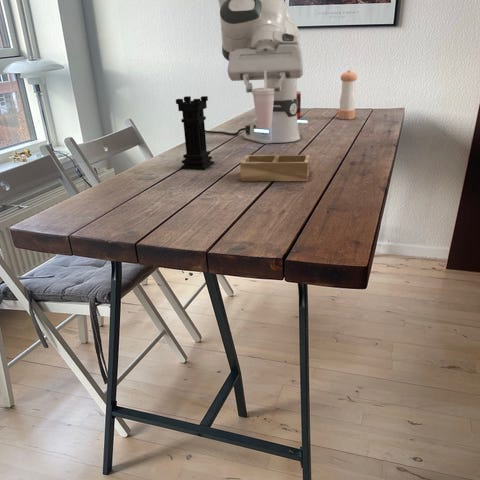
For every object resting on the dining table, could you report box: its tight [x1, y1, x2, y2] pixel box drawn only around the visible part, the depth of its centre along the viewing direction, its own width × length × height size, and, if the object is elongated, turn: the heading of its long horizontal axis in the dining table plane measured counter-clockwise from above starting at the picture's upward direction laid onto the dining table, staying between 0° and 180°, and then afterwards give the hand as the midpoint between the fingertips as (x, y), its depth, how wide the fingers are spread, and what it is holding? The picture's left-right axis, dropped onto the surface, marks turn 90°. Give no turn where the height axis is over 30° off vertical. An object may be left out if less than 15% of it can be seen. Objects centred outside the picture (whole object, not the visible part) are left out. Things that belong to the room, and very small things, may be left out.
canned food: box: [297, 90, 302, 119], centre depth 228 cm, size 8×8×11 cm
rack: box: [239, 154, 311, 182], centre depth 142 cm, size 10×19×5 cm, turn 80°
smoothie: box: [251, 71, 275, 129], centre depth 134 cm, size 6×6×14 cm
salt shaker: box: [337, 69, 358, 120], centre depth 219 cm, size 7×7×19 cm
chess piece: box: [175, 95, 215, 171], centre depth 153 cm, size 8×8×20 cm
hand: (263, 90), depth 132 cm, fingers closed on smoothie, 6 cm apart
